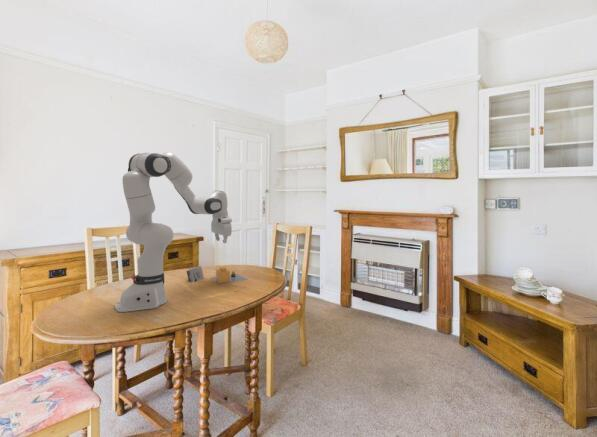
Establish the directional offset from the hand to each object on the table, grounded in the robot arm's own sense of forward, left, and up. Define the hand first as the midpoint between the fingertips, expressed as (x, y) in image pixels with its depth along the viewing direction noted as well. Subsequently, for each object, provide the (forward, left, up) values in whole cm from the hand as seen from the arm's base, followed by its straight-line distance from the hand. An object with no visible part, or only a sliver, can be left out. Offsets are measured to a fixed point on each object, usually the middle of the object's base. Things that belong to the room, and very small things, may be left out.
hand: (221, 241), depth 187 cm
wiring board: (+5, +1, -25) cm, 25 cm away
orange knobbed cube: (0, -2, -23) cm, 23 cm away
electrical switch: (-13, +9, -25) cm, 30 cm away
